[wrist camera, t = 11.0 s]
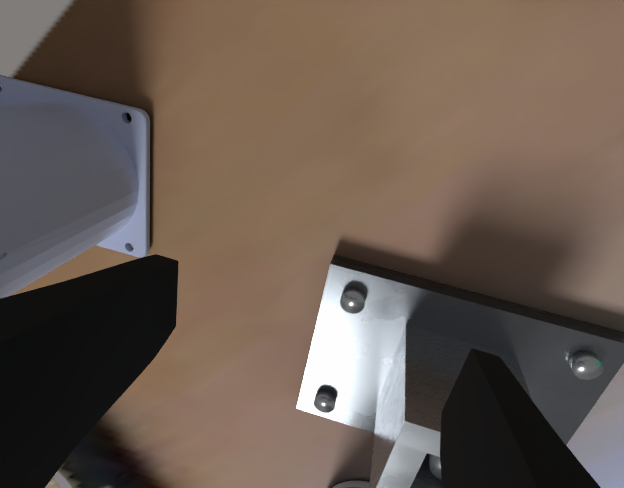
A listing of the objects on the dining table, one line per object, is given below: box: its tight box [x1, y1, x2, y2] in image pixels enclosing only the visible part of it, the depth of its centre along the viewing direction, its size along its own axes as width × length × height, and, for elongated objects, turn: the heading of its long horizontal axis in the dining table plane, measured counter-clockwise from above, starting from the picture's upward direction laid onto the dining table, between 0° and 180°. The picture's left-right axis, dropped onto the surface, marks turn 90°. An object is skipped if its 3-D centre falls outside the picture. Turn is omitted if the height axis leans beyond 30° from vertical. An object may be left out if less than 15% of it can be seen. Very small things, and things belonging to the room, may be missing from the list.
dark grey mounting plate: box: [296, 255, 624, 480], centre depth 19 cm, size 14×10×6 cm
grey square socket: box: [369, 325, 532, 488], centre depth 18 cm, size 5×5×6 cm
